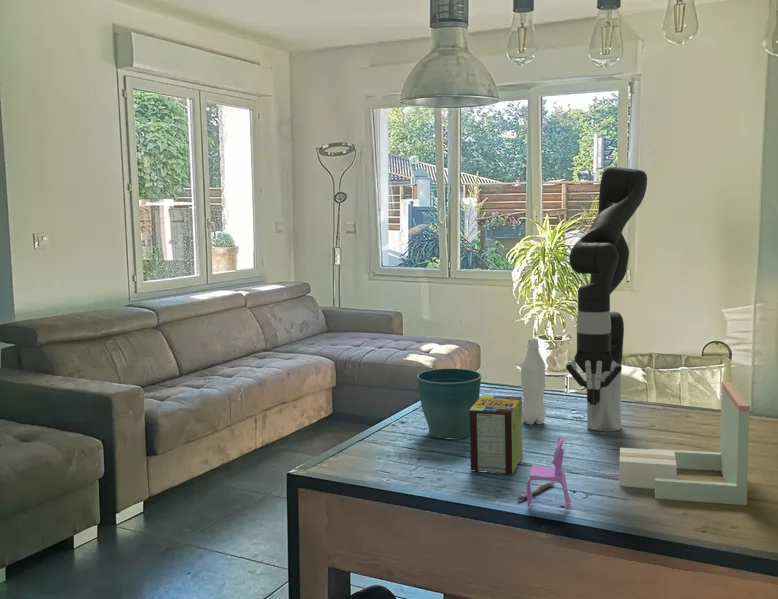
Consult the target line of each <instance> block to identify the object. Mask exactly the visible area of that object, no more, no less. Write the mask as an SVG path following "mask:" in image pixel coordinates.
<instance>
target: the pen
mask: <svg viewBox="0 0 778 599" xmlns="http://www.w3.org/2000/svg"><path fill="white" fill-rule="evenodd" d="M554 484H555V482H554V481H548V482H546V483H544V484H542V485H540V486H538V487H536V488H534V489H532V490H531V493H532V495H533V494H534V495H536V494H537V493H540V491H541V492H542V490H543V491H544V489H545V490H547V489H549V488H551V487H553V485H554ZM548 487H549V488H548ZM546 488H547V489H546ZM535 493H536V494H535ZM534 495H533V496H534ZM526 497H527V494H526V493H524V494H521V495H520V496H518V497H517V498H516V501H517V500H522V499H524V498H525V499H527V498H526ZM525 499H524V500H525Z"/></svg>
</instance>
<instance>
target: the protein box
mask: <svg viewBox="0 0 778 599" xmlns="http://www.w3.org/2000/svg"><path fill="white" fill-rule="evenodd" d="M522 407H523V397H522V396H513V395H498V394H495V395H493V394H482V395H481V396H479V399H478V400H477V402H476V403H475V404H474V405H473V406H472V407H471V409H470V410H469V414H470V435H469V446H470V448H469V454H470V455H469V457H470V471H471V470H475V471H487V472H495V473H503V474H502V475H505V474H513V475H514V473H515V471H516V468H517V467H518V465H519V462H520V461H519V460H521V459H522V457H523V420H522ZM521 456H522V457H521ZM520 458H521V459H520ZM495 473H494V474H495ZM504 473H505V474H504Z"/></svg>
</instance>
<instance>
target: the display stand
mask: <svg viewBox="0 0 778 599" xmlns="http://www.w3.org/2000/svg"><path fill="white" fill-rule="evenodd" d="M720 390H721V394H720V395H721V396H720V397H721V398H720V425H719V426H720V429H719V430H720V432H719V433H720V434H719V436H720V437H719V451H718V452H714V451H713V452H712V451H697V450H696V451H694V450H683V449H682V450H680V449H679V450H677V449H666V448H665V449H663V448H662V449H661V448H648V449H649V450H664V451H674V454H675V459H676V464H677V469H685V470H696V471H697V470H699V471H712V470H714V471H715V472H720V473H721V475H722V477H723V479H724V482H719V481H703V480H702V481H701V480H690V479H689V480H687V479H676V480H675V479H660V478H655V489H654V499H656V500H657V499H658V500H671V501H683V502H695V503H696V502H697V503H698V502H699V503H708V504H709V503H710V504H712V503H713V504H721V505H723V504H724V505H737V506H738V505H739V506H748V482H749V481H748V480H749V479H748V476H749V474H748V473H749V445H750V444H749V443H750V442H749V441H750V415H751V414H750V409H751V406H750V404H749V403H748V402H747V401H746V399H745V398H744V396H743V395H742V393H740V392H739V390H738V389H737V388H736V386H735V385H734V384H733V383H732V381H721V389H720Z"/></svg>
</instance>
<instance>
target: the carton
mask: <svg viewBox="0 0 778 599" xmlns="http://www.w3.org/2000/svg"><path fill="white" fill-rule="evenodd" d="M649 449H650V448H648V449H646V448H645V449H644V448H634V447H633V448H632V447H631V448H630V447H619V472H618V473H619V478H618V480H619V481H618V482H619V484H618V485H619V487H626V486H627V487H629V488H630V487H631V488H638V489H640V488H641V489H652V490H655V478H660V479H675V480H677V479H678V478H677V477H678V476H677V474H678V473H677V472H678V470H677V469H678V468H677V464H676V459H675V454H674V451H664V450H649ZM627 487H626V488H627Z"/></svg>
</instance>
